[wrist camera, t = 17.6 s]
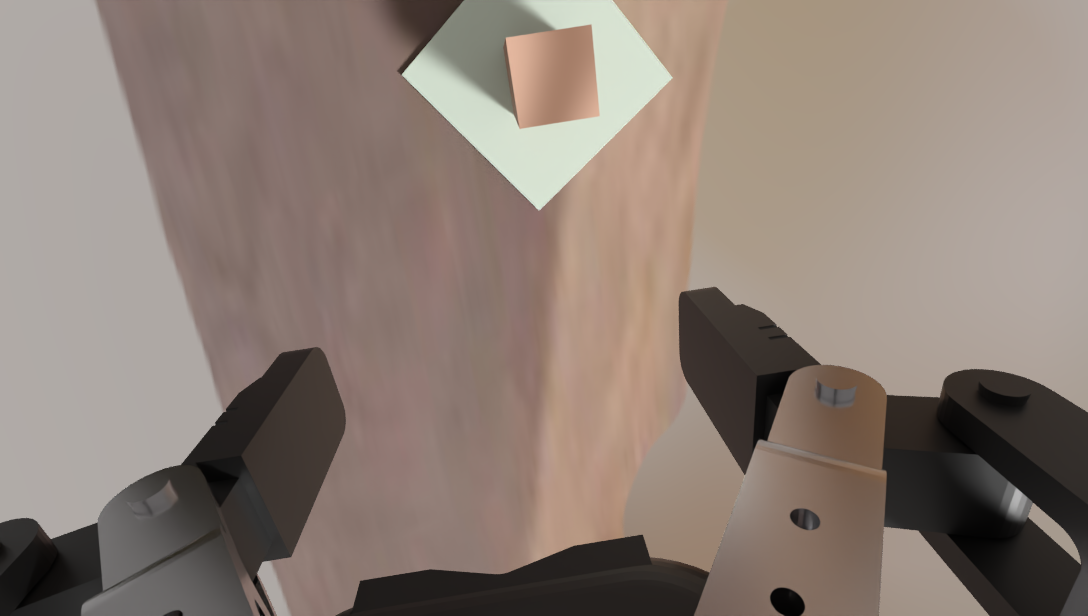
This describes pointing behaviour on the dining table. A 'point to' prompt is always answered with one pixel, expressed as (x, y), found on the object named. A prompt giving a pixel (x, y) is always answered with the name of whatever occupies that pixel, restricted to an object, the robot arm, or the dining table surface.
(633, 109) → the mat
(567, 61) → the tan recessed-panel box
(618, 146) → the dining table surface
